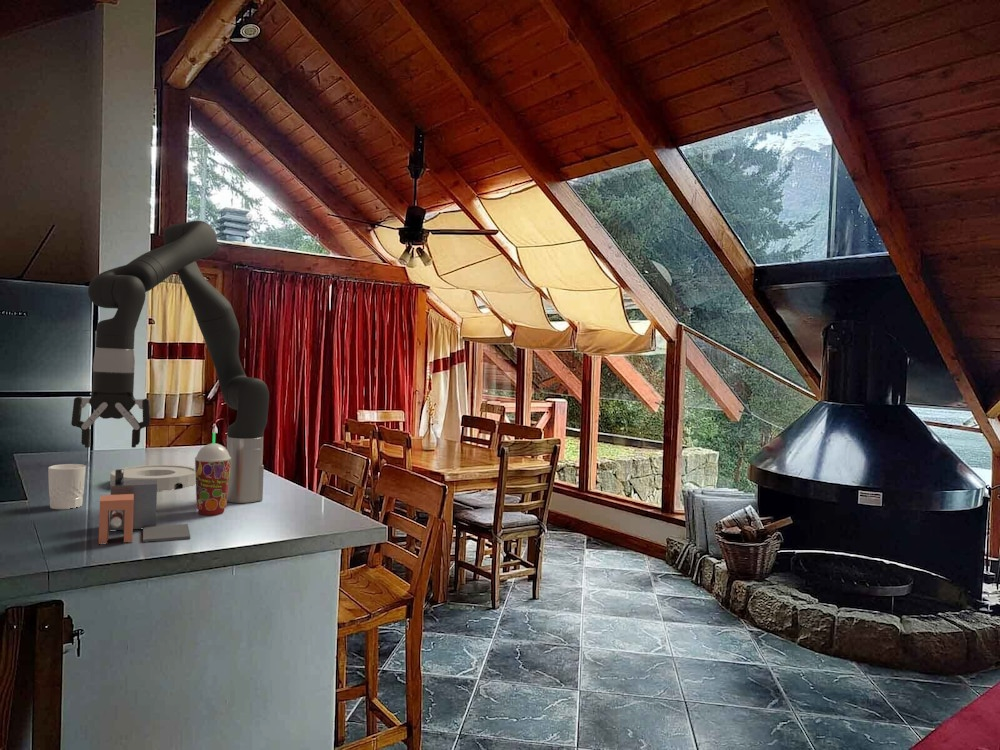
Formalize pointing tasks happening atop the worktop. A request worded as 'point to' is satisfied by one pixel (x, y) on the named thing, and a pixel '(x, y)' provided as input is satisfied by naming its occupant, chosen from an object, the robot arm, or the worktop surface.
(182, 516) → the worktop surface
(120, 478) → the vise block
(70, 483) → the white cup
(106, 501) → the notched orange block
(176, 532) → the mat
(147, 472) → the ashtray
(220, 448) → the smoothie
